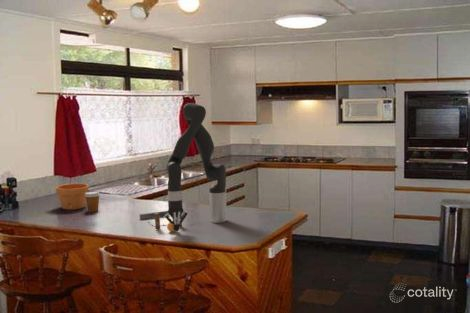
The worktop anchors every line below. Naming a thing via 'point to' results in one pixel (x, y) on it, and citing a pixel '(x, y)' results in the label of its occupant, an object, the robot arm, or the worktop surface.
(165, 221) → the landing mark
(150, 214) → the stopper wall
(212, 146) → the robot arm
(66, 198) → the flower pot
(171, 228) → the ball
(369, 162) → the worktop surface
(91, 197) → the disposable coffee cup
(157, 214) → the post
